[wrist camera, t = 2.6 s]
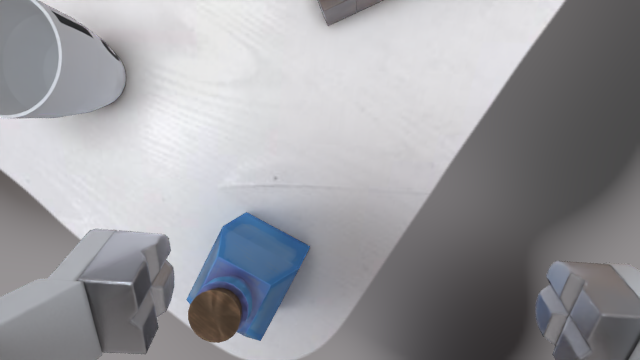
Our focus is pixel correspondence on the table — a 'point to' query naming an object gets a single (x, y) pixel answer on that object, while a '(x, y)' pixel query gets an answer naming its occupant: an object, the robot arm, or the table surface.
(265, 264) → the perfume bottle
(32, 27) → the cup
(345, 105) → the table surface
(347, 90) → the table surface
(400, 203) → the table surface
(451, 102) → the table surface
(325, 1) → the stand
